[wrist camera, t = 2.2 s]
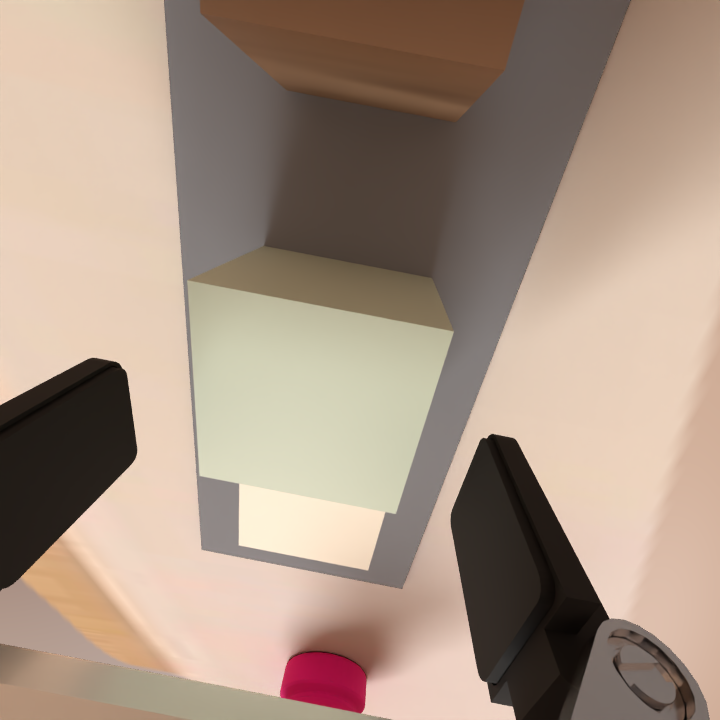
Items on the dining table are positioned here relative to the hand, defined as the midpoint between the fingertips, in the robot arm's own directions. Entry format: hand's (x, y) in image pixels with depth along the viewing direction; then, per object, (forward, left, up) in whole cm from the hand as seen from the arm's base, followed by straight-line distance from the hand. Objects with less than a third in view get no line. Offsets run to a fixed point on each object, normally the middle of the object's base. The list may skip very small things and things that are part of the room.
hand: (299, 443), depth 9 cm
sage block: (-1, 0, -5) cm, 5 cm away
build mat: (0, 0, -6) cm, 6 cm away
